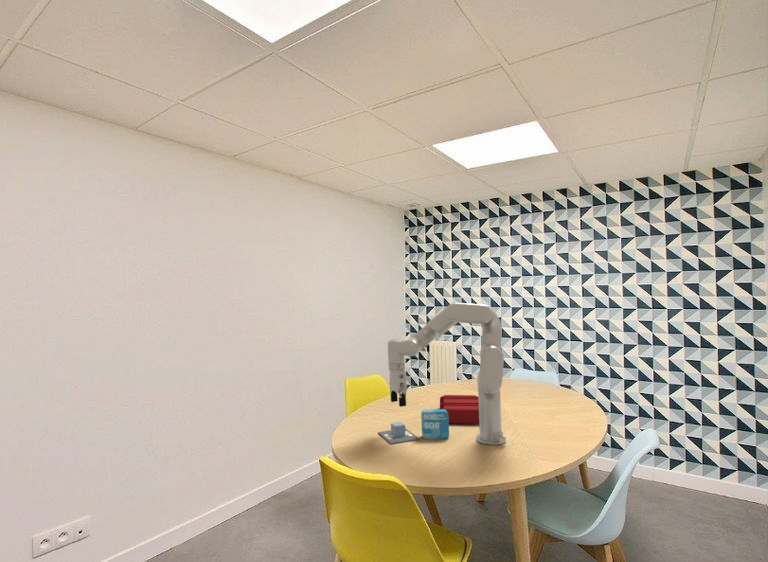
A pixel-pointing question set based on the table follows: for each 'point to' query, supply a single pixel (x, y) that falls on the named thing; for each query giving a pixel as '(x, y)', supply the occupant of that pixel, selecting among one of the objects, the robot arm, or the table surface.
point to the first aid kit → (461, 408)
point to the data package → (435, 423)
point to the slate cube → (398, 429)
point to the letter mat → (393, 440)
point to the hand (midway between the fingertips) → (398, 403)
